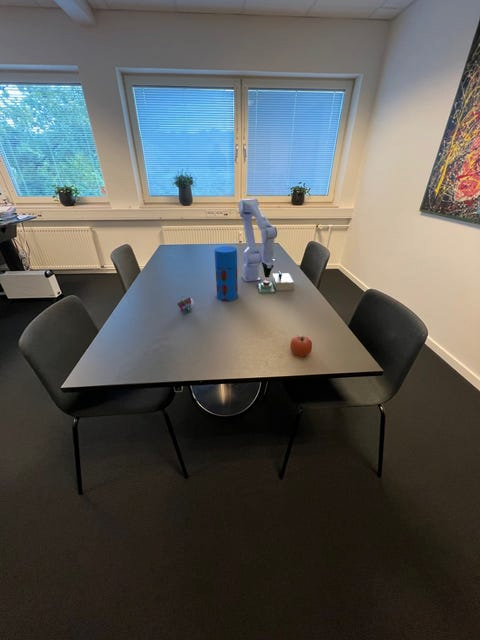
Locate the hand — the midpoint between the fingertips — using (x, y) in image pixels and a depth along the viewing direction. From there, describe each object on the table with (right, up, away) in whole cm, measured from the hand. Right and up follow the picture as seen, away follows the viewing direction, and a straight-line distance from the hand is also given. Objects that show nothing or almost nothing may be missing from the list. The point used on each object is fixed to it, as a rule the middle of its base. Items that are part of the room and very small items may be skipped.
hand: (266, 276), depth 139 cm
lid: (+10, 0, +5) cm, 11 cm away
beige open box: (+10, -4, +8) cm, 13 cm away
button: (0, -4, +3) cm, 5 cm away
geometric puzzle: (-40, -16, -18) cm, 47 cm away
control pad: (0, -6, +4) cm, 7 cm away
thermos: (-21, -11, -4) cm, 24 cm away
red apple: (+8, -36, -44) cm, 58 cm away
